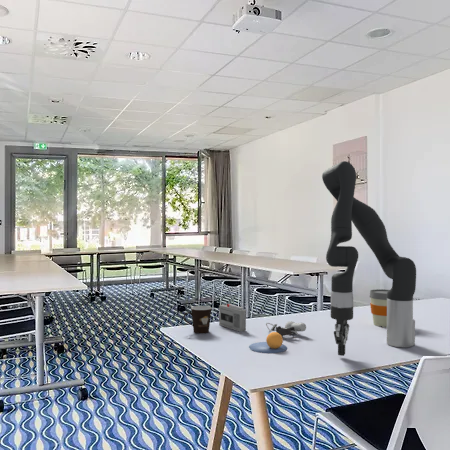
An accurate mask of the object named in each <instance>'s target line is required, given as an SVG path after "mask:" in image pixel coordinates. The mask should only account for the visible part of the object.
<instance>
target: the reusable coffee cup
mask: <svg viewBox="0 0 450 450" xmlns="http://www.w3.org/2000/svg"><path fill="white" fill-rule="evenodd" d="M389 290H390V289H382V288H381V289H379V288H378V289H370V291H369V298H370V303H369V304H370V306H369V307H370V313H371V314H372V320H373V325H374V326H377V327H380V326H382V327H381V328H387V292H388V291H389Z"/></svg>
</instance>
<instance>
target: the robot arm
mask: <svg viewBox="0 0 450 450" xmlns="http://www.w3.org/2000/svg"><path fill="white" fill-rule="evenodd" d="M321 177H322V179H321V180H322V181H323V184H324V186H325V188H326V189H327V190H328V192H329V193H330V194H331V195H332V196H333V198H334V199H335V201H336V204H335V206H334V208H333V211H332V214H331V218H330V229H331V230H330V232H331V234H330V241H329V244H328V247H327V251H326V254H325V255H326V256H325V260H326V262H327V264H328V265H329V267H335V268H337V267H338V268H346V269H345V271H343V272H338V273H334V274H332V276H331V283H330V284H331V288H330V289H331V292H330V318H331V319H333V320H335V321H336V323H335V324H334V331H333V335H334V341H335V344H336V345H337V355H338V356H342V357H344V356H345V355H346V344H347V341H348V340H349V339H348V336H349V330H350V324H349V323H348V321H351V320H354V294H353V293H354V292H353V289H354V286H353V285H354V284H353V283H354V282H353V281H354V273H355V270H356V267H357V263H358V260H359V252H358V249H357V248H356V247H354V246H349V245H347V246H346V245H344V246H343V245H339V244H342V243H343V244H344V243H347V242H349V241H351V239H352V238H353V225H354V226H355V228H356V230H357V231H358V233H359V234H360V236H361V237H362V238H363V240H364V241H365V243H366V245H367V246H368V247H369V248H370V250H371V251H372V253H373V254H374V256H375V258H376V259H377V262H378V264H379V265H380V268H382V271H383V274H385V275H386V277H387V278H388V279H390V280H392V284H391V289H388V290H389V291H388V292H387V327H386V344H387V345H388V346H391V347H396V348H412V347H413V346H415V345H416V320H415V318H414V295H415V293H416V289H417V288H416V285H417V266H416V264H415V262H414V261H413V260H412V259H411V258H410V257H405V256H400V255H399V254H398V253H397V252H396V250H395V249H394V248H393V246H392V245H391V243H390V241H389V238H388V233H387V229H386V226H385V224H384V222H383V219H381V217H380V216H379V215H378V213H377V211H376V210H375V209H374V208H372V207H371V206H369V205H368V204H366V203H364V202H362V200H361V201H360V200H359V199H358V198H355V191H356V182H357V172H356V169H355V167H354V166H353V164H352V163H351V162H349V161H347V160H346V161H343V160H342V161H341V162H338V163H336V164H334V165H332V166H331V167H328V168H327V169H325V170H323V172H322V175H321ZM352 224H353V225H352Z"/></svg>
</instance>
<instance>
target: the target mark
mask: <svg viewBox="0 0 450 450" xmlns="http://www.w3.org/2000/svg"><path fill="white" fill-rule="evenodd" d="M248 348H250V349H249V350H250V351H253V352H255V353H256V352H257V353H261V352H262V354H277V353H283V352H286V351H287V349H288V346H287V345H285V344H283V343H282V345H281V346H280V347H279V348H277V349H272V348H270V347H269V346H268V345H267V342H266V341H257V342H253V343H251V344H249V346H248Z"/></svg>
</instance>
